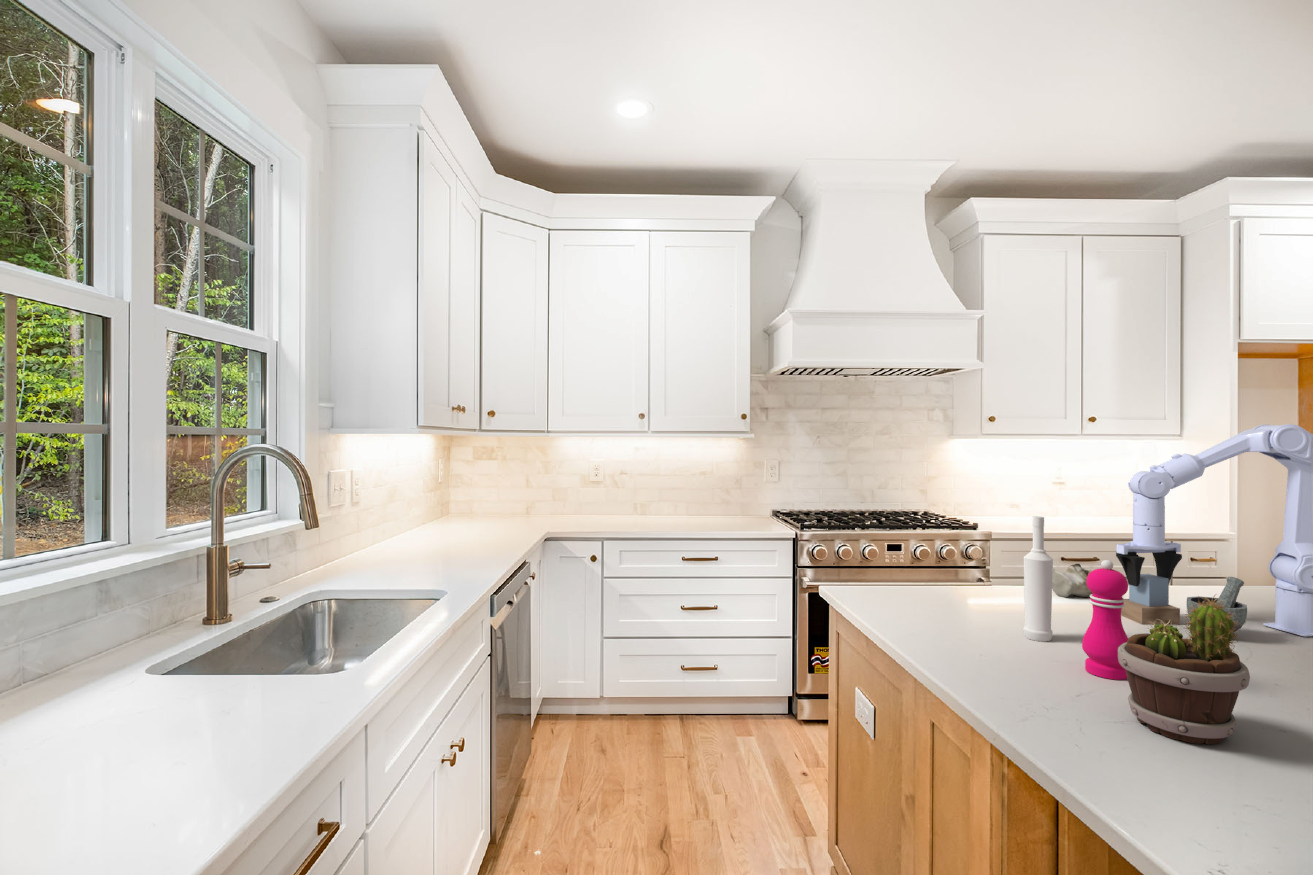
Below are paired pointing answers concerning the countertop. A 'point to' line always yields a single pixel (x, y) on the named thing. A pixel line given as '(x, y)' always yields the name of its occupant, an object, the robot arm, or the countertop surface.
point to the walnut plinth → (1150, 613)
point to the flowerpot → (1186, 676)
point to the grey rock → (1071, 581)
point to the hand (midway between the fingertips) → (1148, 584)
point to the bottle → (1038, 587)
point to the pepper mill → (1105, 622)
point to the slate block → (1150, 591)
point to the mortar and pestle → (1226, 602)
